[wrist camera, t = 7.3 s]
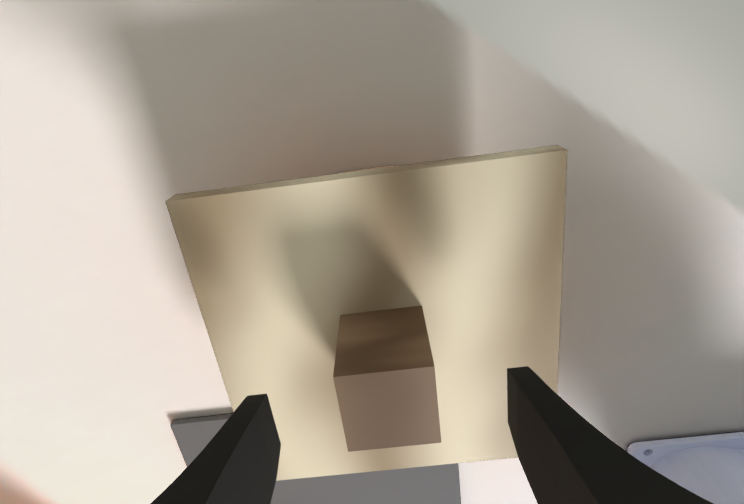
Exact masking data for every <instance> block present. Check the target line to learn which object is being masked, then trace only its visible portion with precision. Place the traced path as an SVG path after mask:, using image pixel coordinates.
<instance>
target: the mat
mask: <svg viewBox="0 0 744 504" xmlns="http://www.w3.org/2000/svg"><path fill="white" fill-rule="evenodd" d="M231 415H232V414H224V415H215V416H205V417H196V418H186V419H176V420H173V421H172V423H171V428H172V430H173V433H174V435H175V438H176V440H177V443H178V445H179V448H180V450H181V453H182V455H183V458H184V460H185V463H186V465H187V467H188V466H189V465H190V464H191V462H192V461H193V460H194V459H195V458H196V457H197V456H198V455H199V454H200V453H201V451H202V450H203V449H204V448H205V447H206V445H207V444H208V443H209V442H210V441H211V439H212V438H213V437H214V436H215V435H216V433H217V432H218V431H219V430H220V429H221V427H222V426H223V425H224V424H225V422H226V421H227V420H228V419H229V417H230V416H231ZM270 504H461V497H460V484H459V470H458V463H454V464H444V465H434V466H423V467H413V468H403V469H392V470H382V471H372V472H361V473H351V474H341V475H330V476H320V477H310V478H299V479H289V480H279V481H276V483H275V487H274V491H273V495H272V499H271V503H270Z"/></svg>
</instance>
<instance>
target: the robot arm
mask: <svg viewBox="0 0 744 504" xmlns="http://www.w3.org/2000/svg"><path fill="white" fill-rule="evenodd" d="M507 406H508V425H509V428H510V432H511V435H512V439H513V442H514V445H515V448H516V452H517V455H518V457H519V460H520V462H521V465H522V467H523V470H524V472H525V474H526V477H527V479H528V481H529V484H530V486H531V488H532V491H533V493H534V496H535V498H536V500H537V503H538V504H744V432H737V433H726V434H716V435H706V436H696V437H685V438H675V439H665V440H654V441H644V442H635V443H632V444H631V445H630V446H629V447H628V450H627V452H626V451H625V450H623V449H622V448H621V447H619V446H618V445H616V444H615V443H614V442H613V441H611V440H610V439H609V438H607V437H606V436H605V435H604V434H602V433H601V432H600V431H599V430H597V429H596V428H595V427H594V426H592V425H591V424H590V423H589V422H588V421H586V420H585V419H584V418H583V417H582V416H581V415H579V414H578V413H577V412H576V411H575V410H574V409H573V408H572V407H570V406H569V405H568V404H567V403H566V402H565V401H564V400H563V399H562V398H561V397H559V396H558V395H557V394H556V393H555V392H554V391H553V390H552V389H551V388H550V387H549V386H548V385H547V384H546V383H545V382H544V381H543V380H542V379H541V378H540V377H539V376H538V375H537V374H536V373H535V372H534V371H533V370H532V369H531V368H530V367H528V366H525V367H516V368H507ZM280 449H281V442H280V439H279V435H278V432H277V428H276V424H275V421H274V417H273V414H272V410H271V407H270V403H269V399H268V396H267V394H258V395H249V396H247V397H246V398H245V399H244V400H243V401H242V403H241V404H240V405H239V406H238V407H237V409H236V410H235V411H234V412H233V414H232V415H231V416H230V417H229V419H228V420H227V421H226V422H225V424H224V425H223V426H222V427H221V429H220V430H219V431H218V432H217V433H216V435H215V436H214V437H213V438H212V439H211V441H210V442H209V443H208V444H207V445H206V447H205V448H204V449H203V450H202V451H201V453H200V454H199V455H198V456H197V457H196V458H195V459H194V460H193V461H192V462H191V464H190V465H189V466H188V467H187V468H186V469H185V470H184V471H183V472H182V473H181V475H180V476H179V477H178V478H177V479H176V480H175V481H174V482H173V483H172V484H171V485H170V486H169V487H168V488H167V489H166V490H165V491H164V492H163V493H161V494H160V495H159V496H158V497H157V498H156V499H155V500H154V501H153V502H152V503H151V504H270V503H271V499H272V495H273V491H274V487H275V483H276V479H277V472H278V465H279V457H280Z"/></svg>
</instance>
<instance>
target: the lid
mask: <svg viewBox="0 0 744 504" xmlns="http://www.w3.org/2000/svg"><path fill="white" fill-rule="evenodd" d="M566 169H567V150H566V149H564V148H562V147H560V146H558V145H556V146H548V147H540V148H532V149H525V150H517V151H509V152H501V153H494V154H486V155H478V156H470V157H463V158H455V159H447V160H439V161H432V162H424V163H416V164H408V165H401V166H393V167H385V168H377V169H370V170H362V171H354V172H346V173H339V174H331V175H323V176H316V177H308V178H300V179H292V180H285V181H277V182H269V183H261V184H254V185H246V186H238V187H230V188H223V189H215V190H207V191H199V192H192V193H184V194H176V195H174V196H172V197H171V198H170V199H168V200H167V201H165V202H166V205H167V208H168V211H169V214H170V217H171V221H172V224H173V227H174V230H175V233H176V236H177V239H178V242H179V245H180V248H181V251H182V254H183V258H184V261H185V264H186V267H187V270H188V273H189V276H190V279H191V282H192V285H193V288H194V292H195V295H196V298H197V301H198V304H199V307H200V310H201V313H202V316H203V319H204V322H205V325H206V329H207V332H208V335H209V338H210V341H211V344H212V347H213V350H214V353H215V356H216V359H217V363H218V366H219V369H220V372H221V375H222V378H223V381H224V384H225V387H226V390H227V393H228V396H229V400H230V403H231V406H232V409H233V412H234V411H235V410H236V409H237V407H238V406H239V405H240V404H241V403H242V401H243V400H244V399H245V398H246V397H247V396H249V395H258V394H267V396H268V399H269V403H270V407H271V410H272V414H273V417H274V421H275V424H276V428H277V432H278V435H279V439H280V442H281V449H280V457H279V465H278V472H277V479H276V481H279V480H289V479H299V478H310V477H320V476H330V475H341V474H351V473H361V472H372V471H382V470H392V469H403V468H413V467H423V466H434V465H444V464H454V463H464V462H475V461H485V460H495V459H506V458H516V457H518V455H517V452H516V448H515V445H514V442H513V439H512V435H511V432H510V428H509V425H508V406H507V368H516V367H525V366H528V367H530V368H531V369H532V370H533V371H534V372H535V373H536V374H537V375H538V376H539V377H540V378H541V379H542V380H543V381H544V382H545V383H546V384H547V385H548V386H549V387H550V388H551V389H552V390H553V391H554V392H555V393H556V394H557V384H558V360H559V336H560V312H561V288H562V265H563V241H564V217H565V193H566Z"/></svg>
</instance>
